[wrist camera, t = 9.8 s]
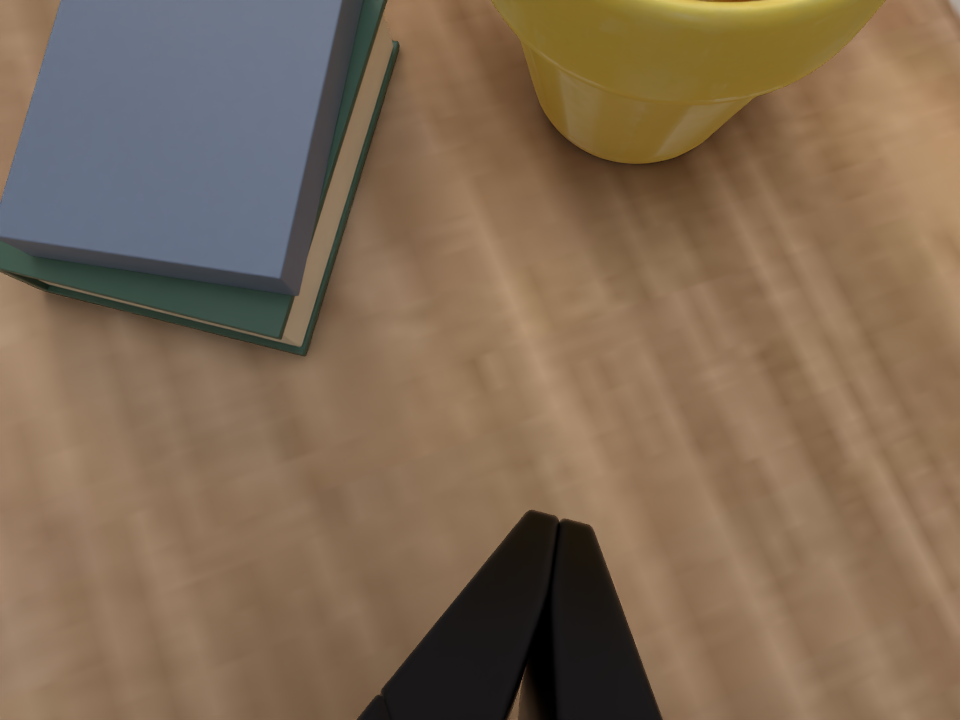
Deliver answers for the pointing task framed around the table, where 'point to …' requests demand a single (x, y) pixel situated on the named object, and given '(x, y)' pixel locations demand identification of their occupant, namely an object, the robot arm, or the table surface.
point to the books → (197, 158)
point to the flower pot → (669, 63)
